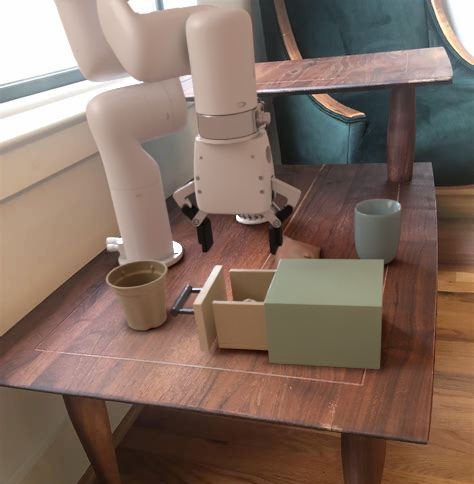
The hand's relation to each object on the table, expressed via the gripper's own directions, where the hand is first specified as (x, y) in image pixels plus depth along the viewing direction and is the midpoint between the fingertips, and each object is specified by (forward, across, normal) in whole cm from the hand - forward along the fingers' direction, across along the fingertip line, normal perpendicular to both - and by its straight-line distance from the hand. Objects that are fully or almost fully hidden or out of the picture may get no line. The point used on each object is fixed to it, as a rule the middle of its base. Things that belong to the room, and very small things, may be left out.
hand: (241, 249), depth 76 cm
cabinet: (+12, -12, +3) cm, 18 cm away
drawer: (+12, +1, +3) cm, 12 cm away
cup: (+13, -18, -22) cm, 31 cm away
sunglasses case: (+13, -5, -17) cm, 22 cm away
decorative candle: (+14, +9, -43) cm, 46 cm away
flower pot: (+13, +17, 0) cm, 21 cm away
